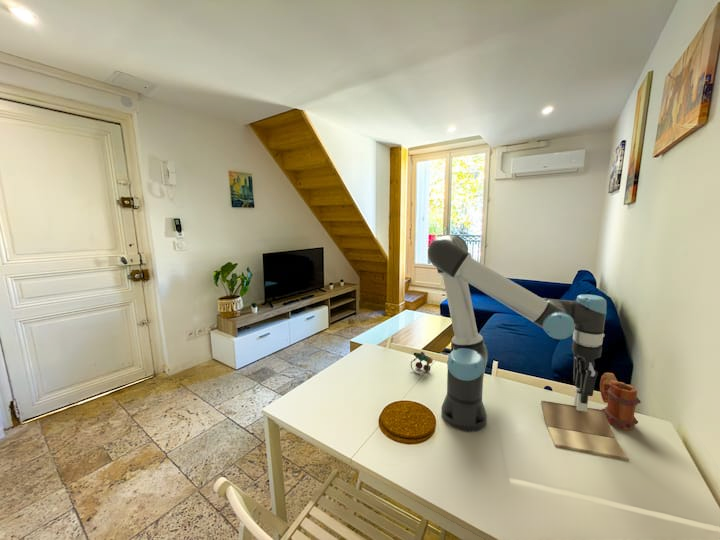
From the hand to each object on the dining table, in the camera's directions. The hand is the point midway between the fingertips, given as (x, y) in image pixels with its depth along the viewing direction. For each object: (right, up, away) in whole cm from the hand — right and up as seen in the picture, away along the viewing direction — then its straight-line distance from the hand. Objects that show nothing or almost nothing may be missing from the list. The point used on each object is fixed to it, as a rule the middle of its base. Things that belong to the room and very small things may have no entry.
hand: (580, 408), depth 98 cm
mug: (+13, -5, +2) cm, 14 cm away
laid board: (-6, -7, -9) cm, 13 cm away
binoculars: (-45, -1, +38) cm, 59 cm away
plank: (-3, -4, -1) cm, 5 cm away
